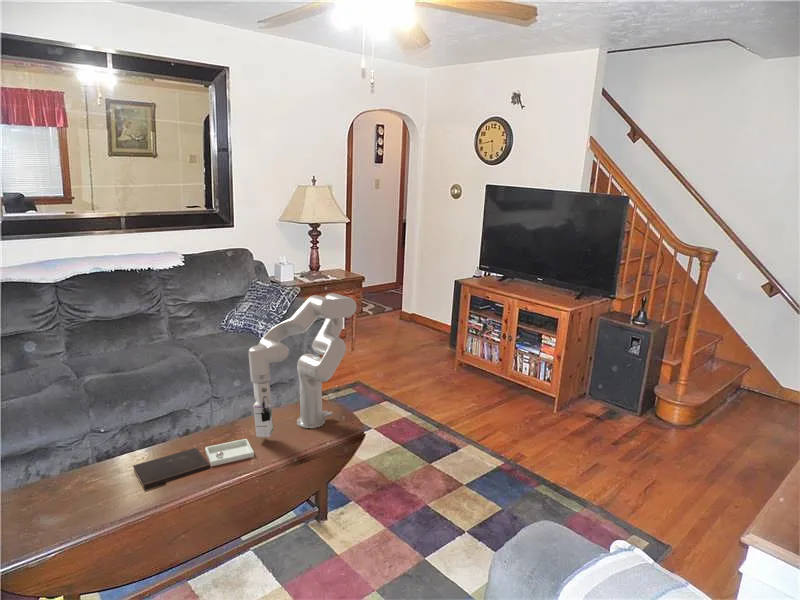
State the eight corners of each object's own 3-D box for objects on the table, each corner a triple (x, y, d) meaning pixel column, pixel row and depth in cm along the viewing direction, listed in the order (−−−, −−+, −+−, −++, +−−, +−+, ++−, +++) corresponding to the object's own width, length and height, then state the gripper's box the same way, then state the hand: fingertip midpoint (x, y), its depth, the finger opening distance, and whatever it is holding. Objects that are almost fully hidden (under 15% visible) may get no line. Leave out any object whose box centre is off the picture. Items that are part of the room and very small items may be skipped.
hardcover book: (133, 471, 199) (132, 465, 198) (196, 452, 213) (196, 447, 212) (144, 491, 187) (143, 485, 186) (210, 470, 201) (210, 465, 200)
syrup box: (270, 437, 219) (267, 405, 215) (255, 437, 219) (253, 404, 215) (273, 430, 224) (271, 398, 220) (259, 430, 224) (257, 398, 220)
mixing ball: (223, 456, 209) (222, 449, 208) (224, 459, 206) (224, 452, 205) (215, 457, 207) (214, 450, 206) (216, 461, 205) (216, 454, 204)
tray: (246, 444, 219) (246, 438, 219) (254, 457, 209) (253, 452, 208) (205, 452, 212) (205, 447, 211) (211, 467, 201) (210, 461, 201)
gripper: (275, 382, 209) (278, 423, 214) (263, 367, 224) (266, 405, 228) (256, 386, 206) (259, 428, 210) (245, 370, 220) (248, 409, 225)
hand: (263, 416), depth 219 cm, fingers closed on syrup box, 7 cm apart
